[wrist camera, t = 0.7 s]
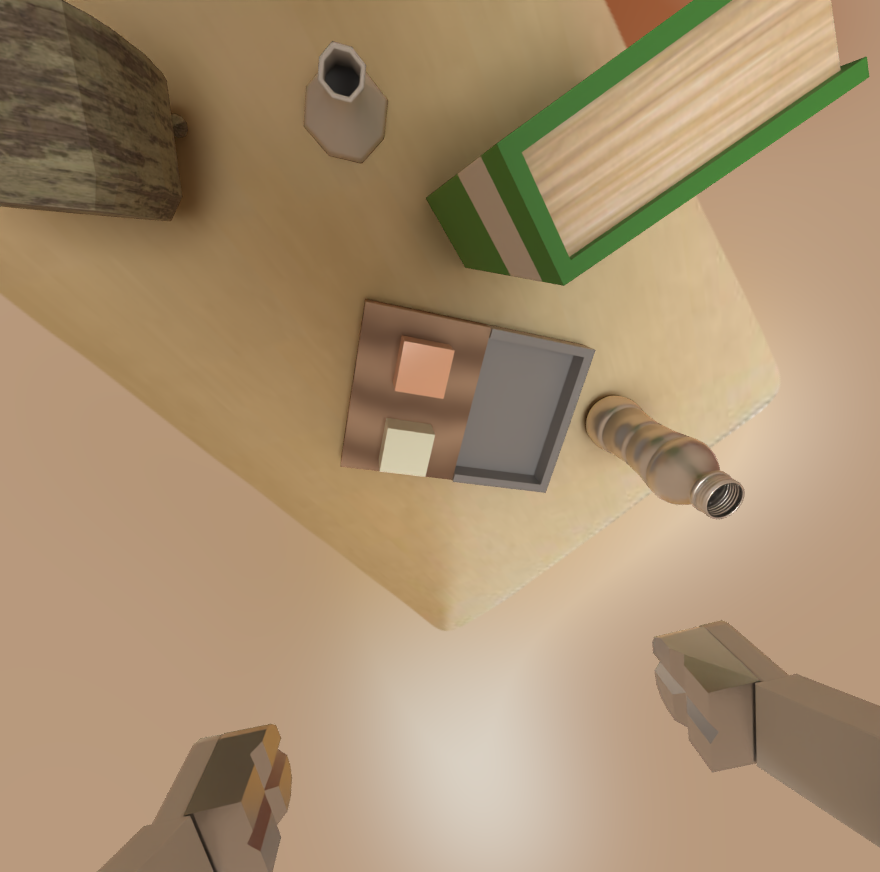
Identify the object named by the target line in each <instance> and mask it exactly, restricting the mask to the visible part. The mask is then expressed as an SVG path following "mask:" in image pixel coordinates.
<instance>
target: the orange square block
mask: <svg viewBox="0 0 880 872" xmlns="http://www.w3.org/2000/svg"><path fill="white" fill-rule="evenodd" d="M454 352H455V350H454V349H453V348H452V347H451V346H450V345H449V344H444V343H439V342H434V341H429V340H424V339H418V338H413V337H408V336H403V335H402V336H401V341H400V347H399V352H398V357H397V363H396V368H395V373H394V379H393V385H394V390H395V391H398V392H404V393H410V394H416V395H422V396H428V397H435V398H441V399H444V395H445V391H446V386H447V382H448V378H449V373H450V369H451V365H452V360H453V356H454Z"/></svg>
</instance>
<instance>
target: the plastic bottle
mask: <svg viewBox="0 0 880 872" xmlns="http://www.w3.org/2000/svg"><path fill="white" fill-rule="evenodd" d="M586 430H587V433H588V435H589V436H590V438H591V439H592V441H593V442H594V443H595V444H596V445H597V446H598V447H600V448H602V449H604V450H605V451H607V452H610V453H612V454H614V455H616V456H617V457H619V458H620V459H622V460H623V461H625V462H626V463H627V464H628V465H629V466H630V467H631V468H632V469H633V470H634V471H635V472H637V473H638V475H639V476H640V477H641V478H642V480H643V481H644V482H645V483H646V484H647V486H648V487H649V488H650V489H651V490H652V491H653V492H654V493H655V495H657V496H658V497H659V498H660V499H662V500H664V501H666V502H669V503H672V504H679V505H689V504H692V506H693V507H695V508H696V509H697V510H699V511H702V512H703V513H705V514H706V515H707V516H709V517H711V518H713V519H723V518H726V517H728V516H730V515H731V514H733V513H734V512H735V511H736V510H737V509H738V508H739V507H740V505H741V503H742V501H743V499H744V488H743V486H742V485H741V484H740V483H739V482H737V481H736V480H734V479H732V478H731V477H730V476H729V475H728V474H726V473H725V472H723V471H720V467H719V464H718V461H717V458H716V456H715V454H714V453H713V452H712V450H711V449H710V448H709V447H708V446H707V445H706V444H705V443H703V442H701V441H699V440H697V439H695V438H692V437H689V436H686V435H684V434H681V433H678V432H675V431H673V430H671V429H669V428H667V427H665V426H663V425H661V424H659V423H657V422H656V421H655V420H653V419H652V418H651V417H650V416H648V415H647V414H646V413H644V411H643V410H642V409H641V408H640V407H639V406H638V405H637V404H636V403H635V402H634V401H632V400H631V399H628V398H625V397H622V396H616V395H613V396H608V397H605V398H603V399H601V400H599V401H598V402H597V403H595V404H594V405H593V407H592V408H591V409H590V411H589V413H588V416H587V420H586Z"/></svg>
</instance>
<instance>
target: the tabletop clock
mask: <svg viewBox="0 0 880 872" xmlns="http://www.w3.org/2000/svg"><path fill="white" fill-rule="evenodd" d="M187 131H188V127H187V123H186V122H185V121H184V119H183V118H182V117H181V116H179V115H176V114H171V109H170V102H169V94H168V87H167V81H166V79H165V77H164V75H163V74H162V72H161V71H160V70H159V69H158V68H157V67H156V66H155V65H154V64H153V63H152V62H151V61H150V60H149V58H148V57H147V56H146V55H145V54H143V53H142V52H141V51H139V50H138V49H137V48H136V47H134V46H133V45H132V44H130V43H129V42H128V41H127V40H125V39H124V38H123V37H121V36H120V35H119V34H118V33H116V32H115V31H114V30H112V29H111V28H109V27H108V26H106V25H105V24H103V23H102V22H100V21H98V20H97V19H95V18H94V17H92V16H91V15H89V14H87V13H85V12H83V11H81V10H80V9H78V8H76V7H74V6H72V5H70V4H68V3H67V2H65V1H63V0H0V206H3V207H13V208H23V209H34V210H45V211H56V212H68V213H79V214H91V215H102V216H114V217H126V218H137V219H149V220H161V221H171V220H172V218H173V215H174V213H175V211H176V209H177V207H178V205H179V202H180V200H181V198H182V191H181V184H180V176H179V169H178V161H177V154H176V146H175V139H174V136H175V137H178V138H180V137H184V136H186V134H187Z"/></svg>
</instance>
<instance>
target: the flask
mask: <svg viewBox="0 0 880 872" xmlns="http://www.w3.org/2000/svg"><path fill="white" fill-rule="evenodd" d="M387 105H388V100H387V98H386V97H385V96H384V95H383V93H382V92H381V91H380V89H379V88H378V87H377V85H376V84H375V83H374V82H373V80H372V79H371V78H370V76H369V75H368V74H367V72H366V65H365V63H364V62H363V61H362V59H361V58H360V57H359V55H358V54H357V53H356V52H355V50H354V49H353V48H352V47H351V46H347V45H344V44H340V43H337V42H334V41H332V42H331V43H330V44H329V46H328V47H327V48H326V49H325V50H324V52H323V53H322V54H321V55H320V56H319V68H318V73H317V74H316V75H315V77H314V78H313V79H312V80H311V81H310V82H309V84H308V85H307V86H306V96H305V115H304V127H305V128H306V129H307V131H308V132H309V133H310V134H311V135H312V136H313V137H314V139H315V140H316V141H317V142H318V143H319V144H320V145H321V147H322V148H323V149H324V150H325V151H326V152H327V153H328V155H329V156H333V157H338V158H342V159H346V160H350V161H355V162H359V163H362V162H363V161H364V160H365V159H366V158H367V157H368V156H369V154H370V153H371V152H372V151H373V150H374V149H375V148H376V147H377V146H378V144H379V143H380V142H381V141H382V140H383V139H384V133H385V123H386V114H387Z"/></svg>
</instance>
